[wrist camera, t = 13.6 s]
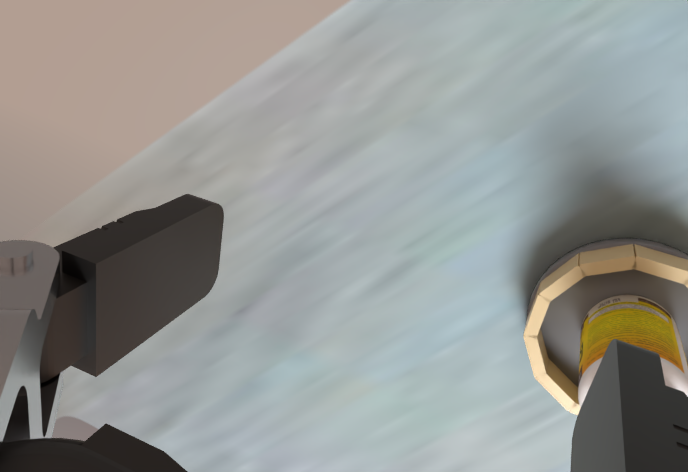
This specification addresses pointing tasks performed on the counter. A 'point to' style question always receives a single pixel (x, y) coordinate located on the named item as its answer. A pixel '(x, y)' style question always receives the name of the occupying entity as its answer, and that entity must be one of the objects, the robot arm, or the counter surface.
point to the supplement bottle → (631, 338)
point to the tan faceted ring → (588, 290)
